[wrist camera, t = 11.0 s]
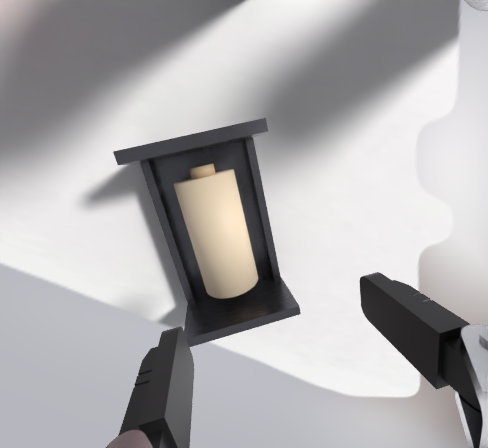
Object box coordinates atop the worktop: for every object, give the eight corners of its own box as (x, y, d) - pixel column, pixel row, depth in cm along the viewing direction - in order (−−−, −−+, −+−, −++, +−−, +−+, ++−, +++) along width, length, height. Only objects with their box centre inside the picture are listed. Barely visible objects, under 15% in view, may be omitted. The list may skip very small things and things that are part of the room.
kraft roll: (177, 171, 26) (162, 175, 20) (230, 158, 26) (231, 159, 20) (210, 281, 30) (206, 312, 24) (256, 270, 30) (263, 298, 24)
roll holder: (141, 154, 25) (113, 151, 18) (248, 130, 26) (265, 118, 19) (190, 302, 31) (185, 348, 23) (278, 277, 32) (300, 314, 24)
